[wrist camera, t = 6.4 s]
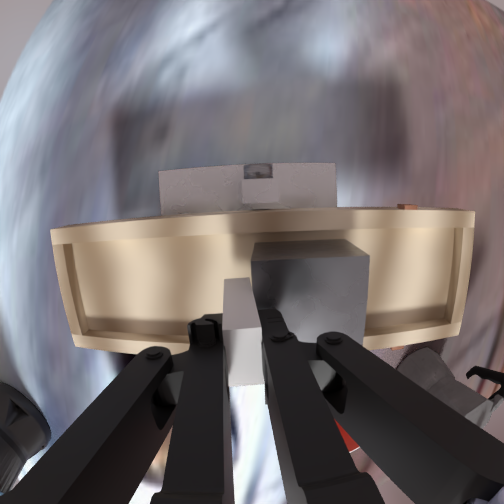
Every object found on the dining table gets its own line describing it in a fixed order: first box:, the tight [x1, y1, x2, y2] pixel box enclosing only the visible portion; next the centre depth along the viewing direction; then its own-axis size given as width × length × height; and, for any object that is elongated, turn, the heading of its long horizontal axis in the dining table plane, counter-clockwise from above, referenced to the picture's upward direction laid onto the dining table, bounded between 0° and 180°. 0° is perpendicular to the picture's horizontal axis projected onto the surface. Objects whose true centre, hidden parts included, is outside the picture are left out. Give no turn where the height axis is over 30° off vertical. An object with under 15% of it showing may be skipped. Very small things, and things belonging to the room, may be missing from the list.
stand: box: [158, 163, 337, 216], centre depth 26 cm, size 18×18×11 cm
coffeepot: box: [396, 347, 504, 429], centre depth 28 cm, size 15×9×18 cm, turn 126°
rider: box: [251, 239, 370, 346], centre depth 17 cm, size 6×6×5 cm
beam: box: [50, 204, 475, 355], centre depth 20 cm, size 32×11×4 cm, turn 93°
